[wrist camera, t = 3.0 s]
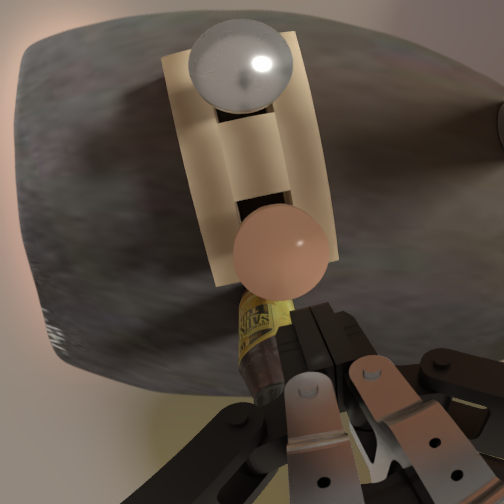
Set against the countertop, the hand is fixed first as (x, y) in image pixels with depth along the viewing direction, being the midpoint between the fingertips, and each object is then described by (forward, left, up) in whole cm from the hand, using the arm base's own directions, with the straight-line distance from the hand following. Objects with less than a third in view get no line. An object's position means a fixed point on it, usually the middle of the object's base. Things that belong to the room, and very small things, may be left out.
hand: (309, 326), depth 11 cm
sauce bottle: (+2, +11, -23) cm, 25 cm away
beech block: (0, -6, -23) cm, 23 cm away
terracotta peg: (0, 0, -16) cm, 16 cm away
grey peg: (0, -12, -16) cm, 20 cm away
